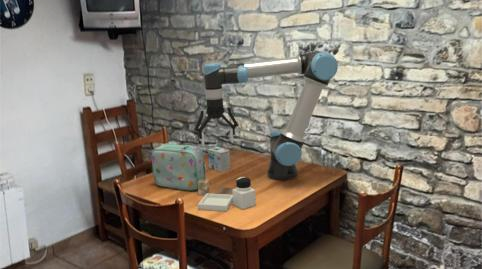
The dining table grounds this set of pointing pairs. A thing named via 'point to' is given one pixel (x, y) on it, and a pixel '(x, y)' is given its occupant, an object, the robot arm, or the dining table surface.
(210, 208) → the tray
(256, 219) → the dining table surface
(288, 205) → the dining table surface
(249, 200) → the medicine bottle
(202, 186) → the clear glass cylinder
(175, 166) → the lunch box
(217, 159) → the light bulb box
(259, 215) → the dining table surface
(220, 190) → the board
